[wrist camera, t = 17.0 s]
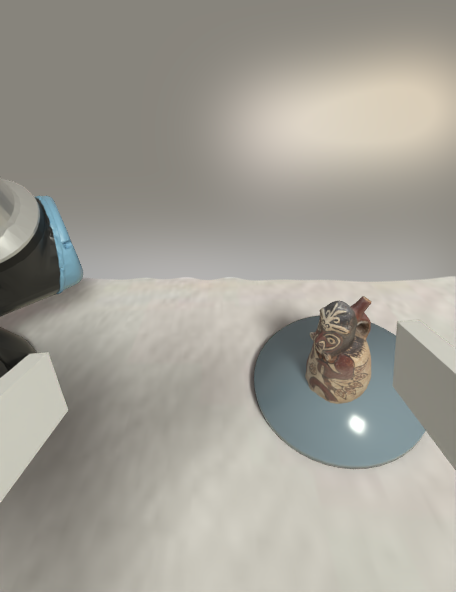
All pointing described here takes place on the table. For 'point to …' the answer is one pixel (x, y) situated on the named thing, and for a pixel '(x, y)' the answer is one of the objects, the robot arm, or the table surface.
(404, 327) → the robot arm
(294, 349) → the plate
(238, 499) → the table surface
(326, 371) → the figurine
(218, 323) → the table surface
